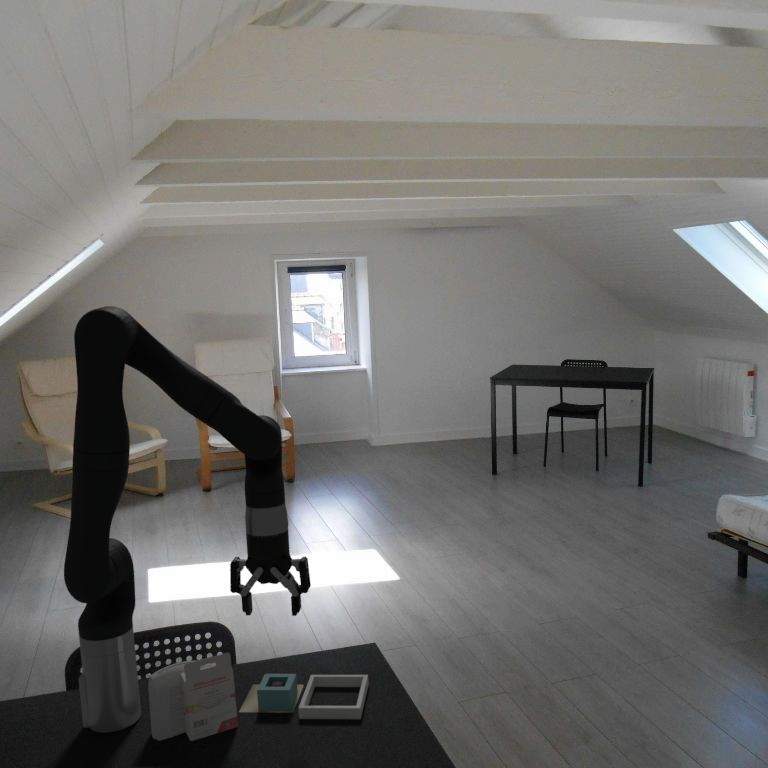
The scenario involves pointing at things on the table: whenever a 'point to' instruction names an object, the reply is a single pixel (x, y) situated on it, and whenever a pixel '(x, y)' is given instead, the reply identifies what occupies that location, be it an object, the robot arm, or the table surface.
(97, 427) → the robot arm
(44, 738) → the table surface
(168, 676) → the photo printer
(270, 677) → the teal hollow block
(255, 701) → the peg board
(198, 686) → the ink cartridge box
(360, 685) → the tray
